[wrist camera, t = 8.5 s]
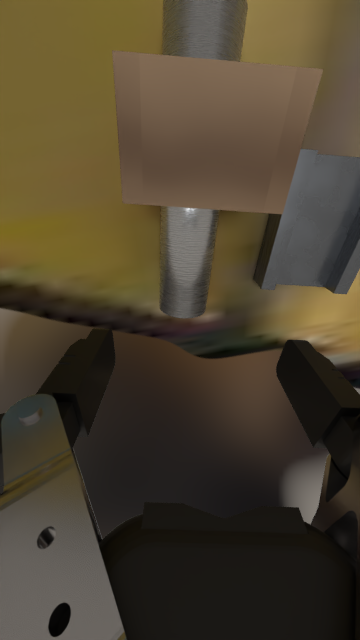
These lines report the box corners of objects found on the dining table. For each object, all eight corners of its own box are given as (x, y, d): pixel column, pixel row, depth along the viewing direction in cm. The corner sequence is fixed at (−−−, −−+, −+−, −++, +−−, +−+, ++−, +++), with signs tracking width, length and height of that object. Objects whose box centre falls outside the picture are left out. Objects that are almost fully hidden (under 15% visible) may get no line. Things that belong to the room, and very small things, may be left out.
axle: (169, 35, 14) (155, -26, 10) (241, 37, 13) (255, -25, 10) (163, 294, 23) (155, 315, 19) (205, 298, 23) (205, 320, 19)
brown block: (145, 116, 15) (112, 50, 8) (256, 125, 15) (323, 69, 8) (146, 197, 18) (122, 203, 11) (241, 203, 18) (282, 214, 11)
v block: (284, 154, 16) (300, 148, 14) (385, 161, 16) (415, 157, 14) (253, 279, 21) (261, 289, 19) (330, 283, 22) (346, 294, 20)
